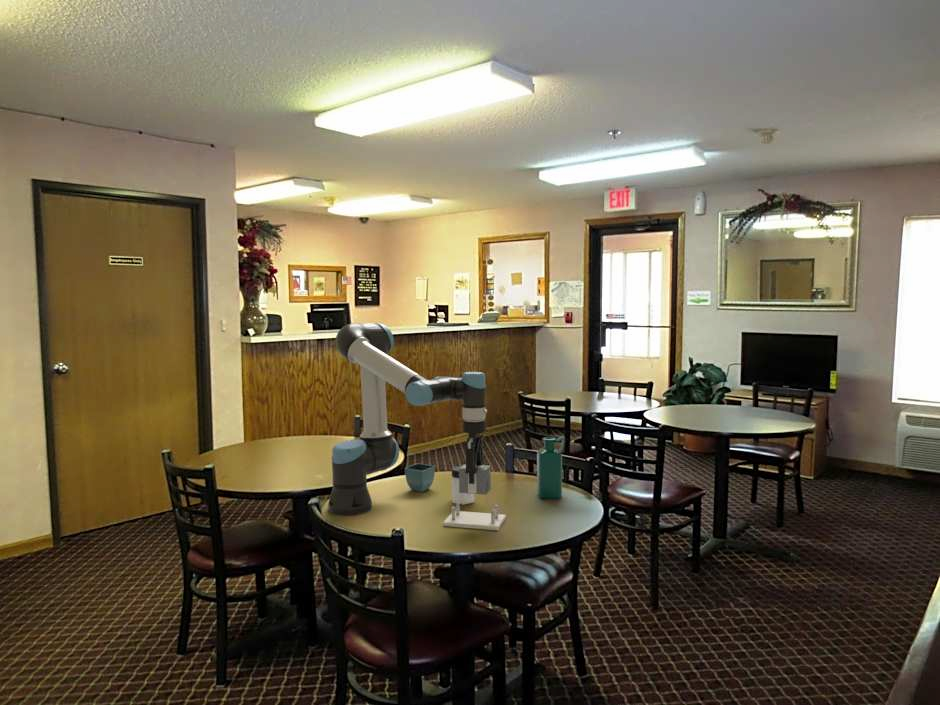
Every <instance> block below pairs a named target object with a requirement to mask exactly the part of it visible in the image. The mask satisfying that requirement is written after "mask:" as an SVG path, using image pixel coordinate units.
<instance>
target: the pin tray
mask: <svg viewBox="0 0 940 705" xmlns="http://www.w3.org/2000/svg"><path fill="white" fill-rule="evenodd" d="M460 505H461V504H460V503H459V502H456V503H455V506H451V513H450V514H449V515H448V516H447V518H445V520H444V521H443V523H442V525H443V527H451V528H453V527H454V528H465V529H477V530H487V531H499V529H500V528H501V527H502V526H503V524H504V522H505V521H506V519H507V514H500V513H499V505H498V504H495V505H494V509H491V510H490V512H489V513H487V512H476V511H474V512H473V511H464V510H463V511H462V510H460Z"/></svg>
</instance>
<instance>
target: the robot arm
mask: <svg viewBox="0 0 940 705" xmlns="http://www.w3.org/2000/svg"><path fill="white" fill-rule="evenodd" d="M394 340H395V339H394V335H393V333H392V331H391V329H390V328H389V327H388V326H387V325H386V324H384V323H381V322H380V323H379V322H365V323H364V322H361V323H360V322H359V323H348V324H345V325H344V326H343V327H341V328H340V329H339V330H338V332H337V333H336V337H335V345H336V346H335V347H336V348H337V351H338V352H339V354H340V355H341V356H342V357H343V358H344V359H346V360H348V361H349V362H351V363H352V364H357V363H358V364H359V367H360V383H361V400H362V402H361V404H362V422H363V431H362V432H361V434H359V439H356V438H355V439H354V438H352V439H349V440H343V441H339V442H338V443H336V444H335V445H334V446H333V448H332V449H331V450H332V451H331V452H332V453H331V455H332V456H331V468H332V488H331V489H332V490H331V492H330V496H329V499H328V502H327V508H328V512H329V513H330V514H332V515H336V516H354V515H360V514H365V513H367V512H369V511H370V510H372V508H373V500H372V497H371V494H370V492H369V488H368V487H367V485H368V484H367V476H368V475H370V474H374V473H377V472H382V471H386V470H387V469H389V468H392V467H394V465H395V464H396V463H397V461H398V459H399V456H400V447H399V443H398V442H397V440H396V439H395V438H394V437H393V433H392V432H391V431H390V430H389V429H388V418H387V417H388V415H387V413H388V412H387V396H386V395H387V393H386V383H388V384H390V385H392V386H393V387H394V388H396V389H397V390H399V391H400V392H402V393H403V394H404V395H405V399H406V400H407V401H408V404H410V405H412V406H414V407H416V406H417V407H418V406H419V407H420V406H421V407H423V406H427V405H430V404H434V403H441V402H445V401H460V402H461V401H462V402H461V403H462V419H463V421H462V432H463V433H464V434H468V438H467V439H466V441H465V444H464V445H465V464H466V471H465V473H468V493H474V495H477V494H476V493H477V473H476V465H484V442H483V441H484V435H483V434H484V433H485V432H486V431H487V421H486V414H487V413H488V409H486V407H487V406H486V391H487V390H486V389H487V388H486V387H487V384H486V375H485V373H484V372H480V371H465V372H463V373H462V375H461V377H457V376H456V377H454V376H453V377H452V376H446V375H444V376H443V375H442V376H441V375H440V376H435V377H434V378H432V379H426V378H424V377H423V376H422V375H420V374H419V373H417V372H415V371H413V370H411V369H410V368H409V367H407V366H406V365H404V364H402V363H401V362H399V361H398V360H396V359H395V358H393V357H392V356H390V355H389V353H390V352H392V350H393V348H394V345H395V344H394Z"/></svg>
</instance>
